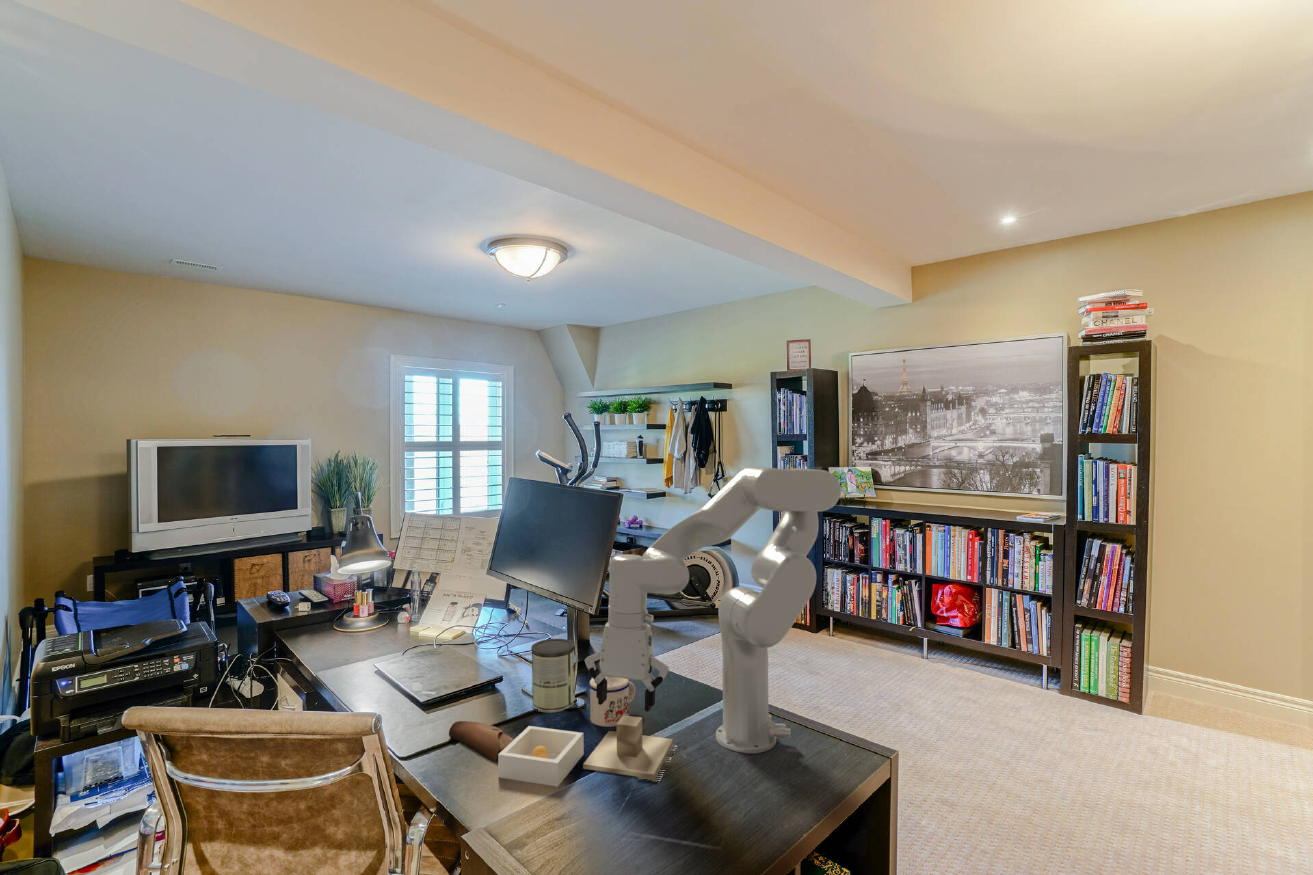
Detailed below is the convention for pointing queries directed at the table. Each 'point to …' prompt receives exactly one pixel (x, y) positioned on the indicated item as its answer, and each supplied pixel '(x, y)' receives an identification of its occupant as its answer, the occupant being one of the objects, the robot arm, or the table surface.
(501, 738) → the sunglasses case
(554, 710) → the coffee can
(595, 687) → the teacup with lid
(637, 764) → the lid
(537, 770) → the dish
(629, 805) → the table surface
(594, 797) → the table surface
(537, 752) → the ball
